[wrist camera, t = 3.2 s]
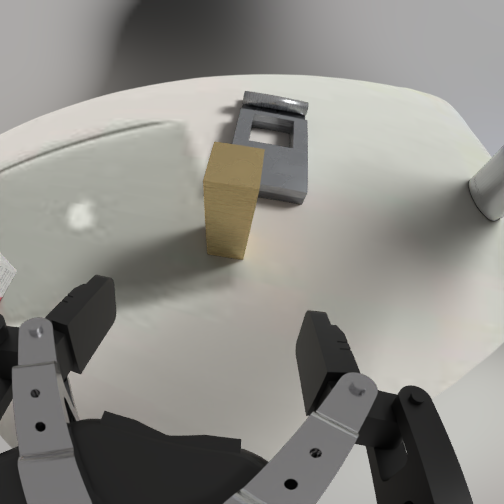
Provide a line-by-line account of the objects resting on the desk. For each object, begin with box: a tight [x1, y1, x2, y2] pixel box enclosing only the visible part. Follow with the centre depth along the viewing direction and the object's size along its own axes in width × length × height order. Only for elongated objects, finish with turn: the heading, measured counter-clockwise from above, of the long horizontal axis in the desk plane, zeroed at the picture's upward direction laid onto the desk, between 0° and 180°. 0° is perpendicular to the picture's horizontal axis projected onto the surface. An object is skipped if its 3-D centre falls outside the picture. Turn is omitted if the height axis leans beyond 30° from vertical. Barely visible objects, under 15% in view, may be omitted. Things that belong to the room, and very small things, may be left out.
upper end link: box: [232, 108, 308, 205], centre depth 33 cm, size 9×12×2 cm
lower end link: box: [242, 91, 308, 148], centre depth 35 cm, size 9×13×3 cm
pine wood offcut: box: [203, 142, 265, 260], centre depth 24 cm, size 4×4×12 cm
